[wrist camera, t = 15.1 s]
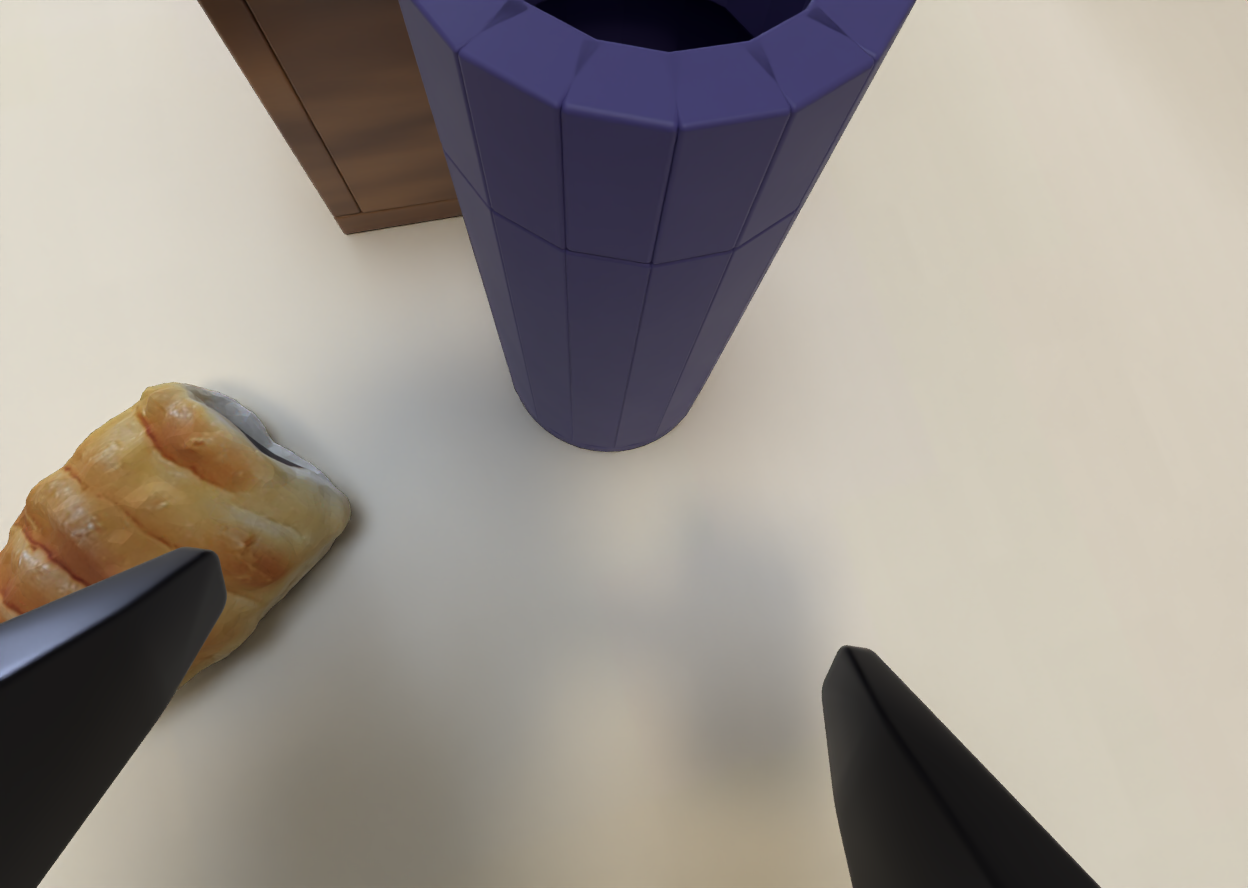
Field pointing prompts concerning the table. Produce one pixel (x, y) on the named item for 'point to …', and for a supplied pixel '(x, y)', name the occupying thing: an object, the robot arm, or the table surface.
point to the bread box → (345, 103)
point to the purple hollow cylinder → (635, 178)
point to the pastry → (176, 510)
